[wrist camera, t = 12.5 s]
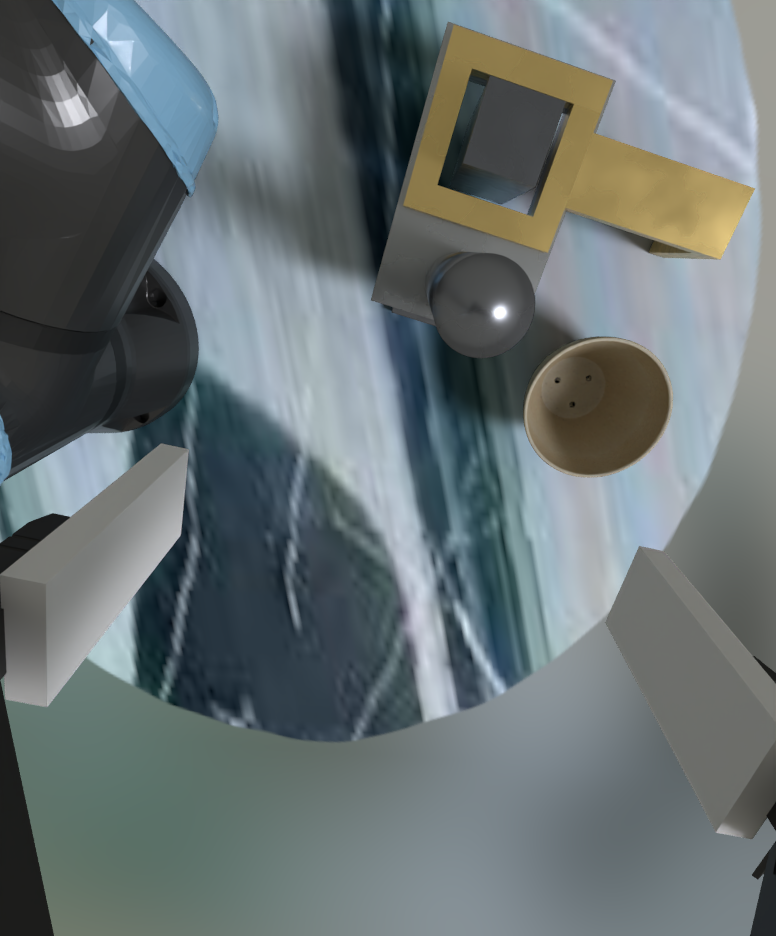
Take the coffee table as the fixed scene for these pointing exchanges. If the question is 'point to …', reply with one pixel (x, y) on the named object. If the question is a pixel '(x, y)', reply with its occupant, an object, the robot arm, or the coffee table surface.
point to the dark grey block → (506, 141)
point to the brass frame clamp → (559, 190)
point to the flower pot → (597, 406)
